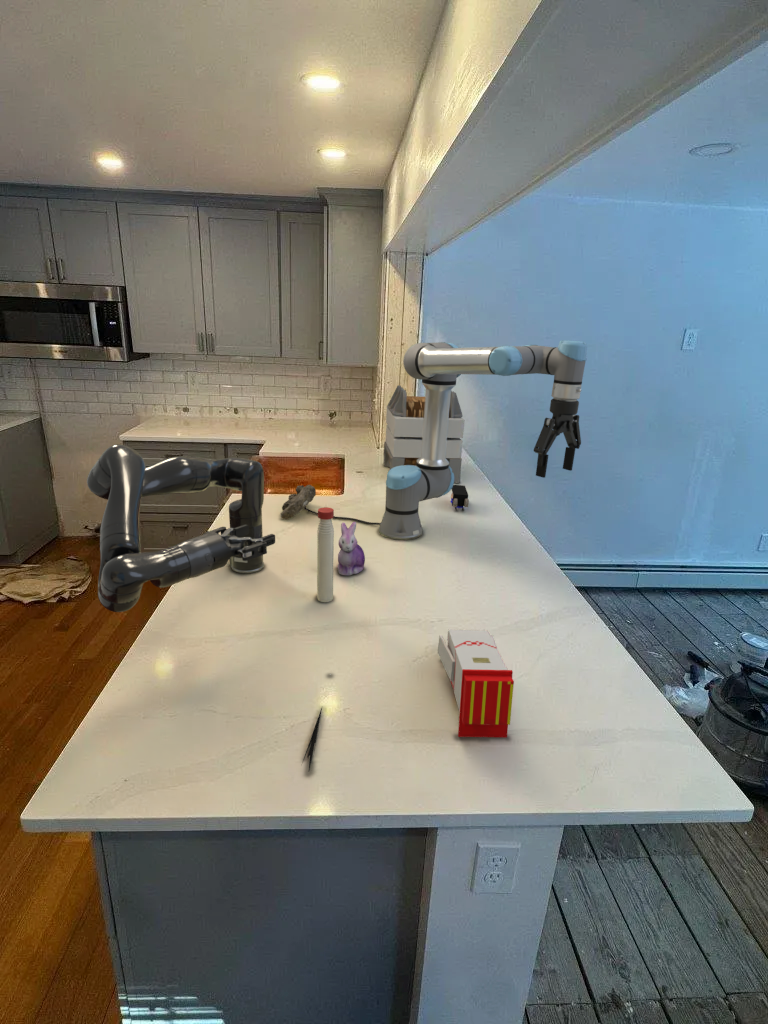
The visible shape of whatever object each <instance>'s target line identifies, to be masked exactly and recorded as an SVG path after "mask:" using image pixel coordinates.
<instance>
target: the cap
mask: <svg viewBox="0 0 768 1024" xmlns="http://www.w3.org/2000/svg"><path fill="white" fill-rule="evenodd" d="M317 513H318V515H317V518H318V519H319V520H320V519H324V520H328V519H331V520H332V519H334V518H333V517H334V516H335V510H334V508H332V507H325V506H324V507H319V508H318V509H317Z"/></svg>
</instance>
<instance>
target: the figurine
mask: <svg viewBox="0 0 768 1024" xmlns="http://www.w3.org/2000/svg"><path fill="white" fill-rule="evenodd" d="M356 528H357V521H353V522H352V523H351V524H350V525H349V527H348V526H347V524H346V523H345V522H344V521H343V522H341V524H340V531H341V532H340V533H341V534H340V537H339V539H338V546H339V549H340V550H339V551H338V553H337V562H338V565H337V570H338V574H339V575H342V576H352V575H357V574H359V573H361V572H362V571H364V568H365V563H366V557H365V556H366V555H365V551H364V550H363V547H362V546H361V545H360V544H359V543H358V540H357V538H356V534H355V532H356Z"/></svg>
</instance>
